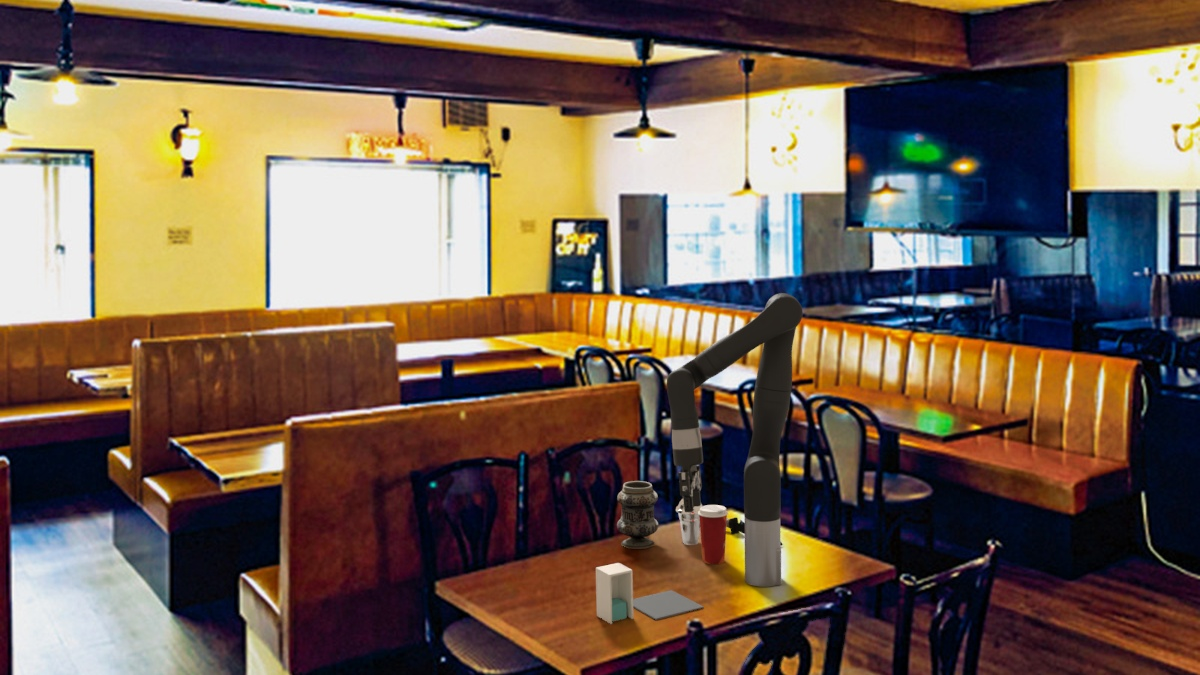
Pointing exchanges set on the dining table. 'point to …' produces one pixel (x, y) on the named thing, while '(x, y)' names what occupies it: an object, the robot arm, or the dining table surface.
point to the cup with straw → (689, 523)
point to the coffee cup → (713, 533)
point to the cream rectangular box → (613, 589)
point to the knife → (737, 526)
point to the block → (618, 609)
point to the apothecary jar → (637, 514)
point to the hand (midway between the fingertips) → (693, 508)
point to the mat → (664, 604)
